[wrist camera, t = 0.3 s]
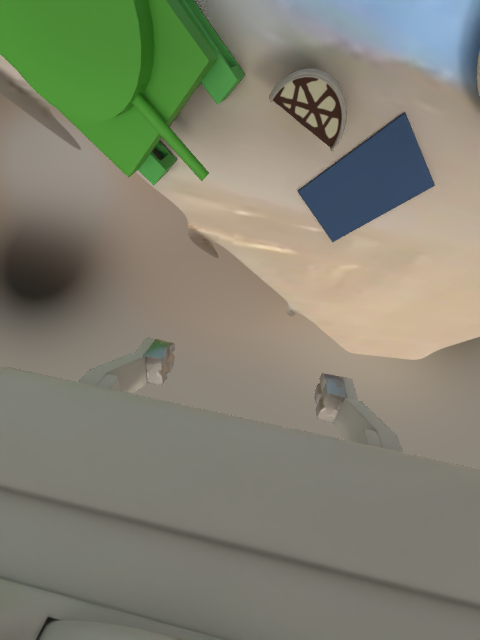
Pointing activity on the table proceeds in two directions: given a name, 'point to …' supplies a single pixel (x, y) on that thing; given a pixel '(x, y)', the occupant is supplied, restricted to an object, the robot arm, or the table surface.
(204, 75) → the tank
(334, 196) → the mat
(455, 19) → the table surface
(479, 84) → the cake pan
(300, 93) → the food container
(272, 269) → the table surface
